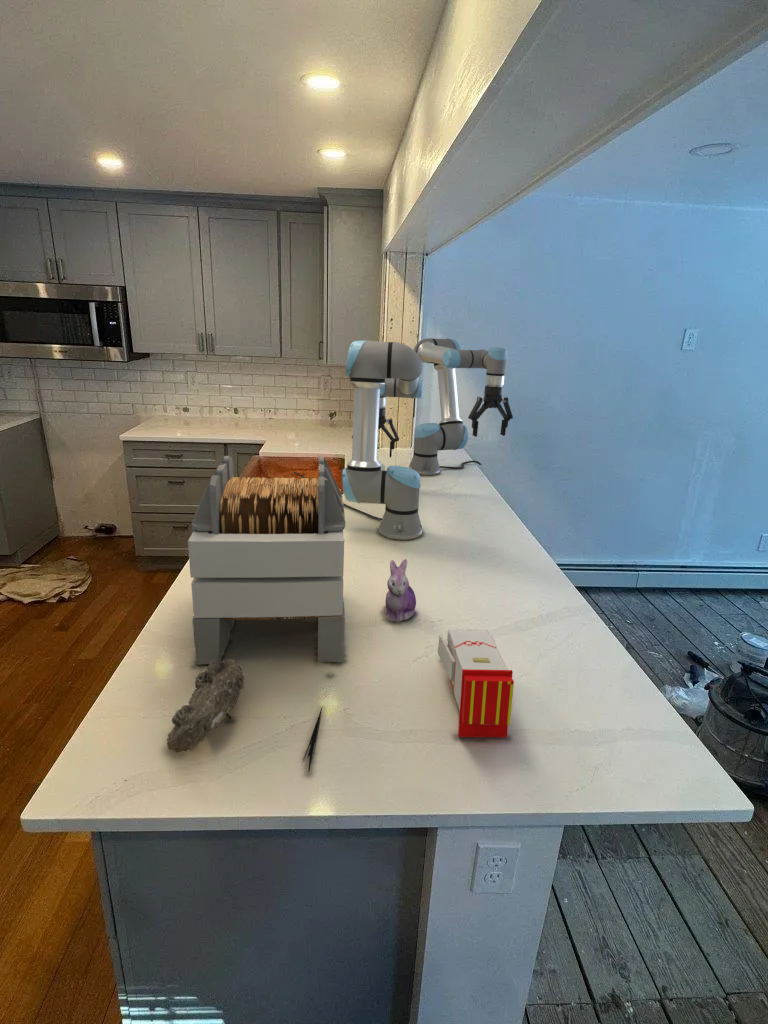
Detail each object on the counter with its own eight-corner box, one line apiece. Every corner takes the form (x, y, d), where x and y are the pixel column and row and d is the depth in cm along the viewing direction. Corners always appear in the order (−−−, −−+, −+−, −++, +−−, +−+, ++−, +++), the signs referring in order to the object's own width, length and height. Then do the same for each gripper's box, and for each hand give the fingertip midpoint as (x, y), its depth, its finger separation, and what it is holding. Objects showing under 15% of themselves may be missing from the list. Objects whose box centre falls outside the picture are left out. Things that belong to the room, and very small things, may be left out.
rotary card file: (219, 592, 154) (209, 445, 140) (339, 591, 158) (342, 448, 144) (193, 667, 122) (178, 487, 108) (344, 663, 126) (348, 488, 112)
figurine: (392, 627, 141) (395, 572, 136) (374, 608, 149) (376, 556, 144) (425, 619, 145) (429, 566, 140) (405, 601, 154) (408, 550, 149)
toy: (488, 613, 130) (523, 677, 101) (484, 667, 133) (517, 744, 104) (435, 612, 130) (455, 676, 101) (432, 666, 133) (451, 743, 103)
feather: (331, 679, 122) (336, 673, 122) (307, 777, 96) (313, 769, 95) (324, 675, 122) (329, 669, 121) (298, 772, 95) (304, 764, 95)
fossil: (192, 660, 117) (244, 628, 112) (224, 691, 120) (276, 661, 115) (142, 746, 98) (202, 712, 93) (182, 779, 101) (242, 748, 96)
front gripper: (406, 406, 242) (403, 455, 249) (348, 403, 242) (347, 452, 250) (406, 409, 235) (403, 459, 242) (346, 406, 235) (345, 456, 243)
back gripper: (515, 384, 244) (509, 432, 252) (463, 384, 237) (458, 434, 244) (524, 386, 238) (518, 436, 245) (471, 386, 230) (466, 438, 237)
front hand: (374, 455), depth 246 cm, fingers open, 13 cm apart
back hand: (488, 435), depth 244 cm, fingers open, 13 cm apart
